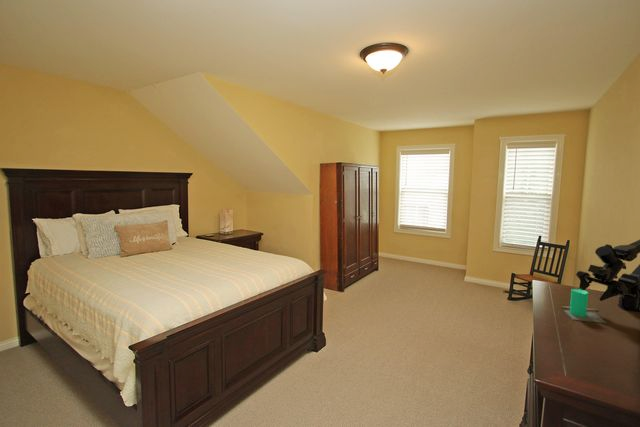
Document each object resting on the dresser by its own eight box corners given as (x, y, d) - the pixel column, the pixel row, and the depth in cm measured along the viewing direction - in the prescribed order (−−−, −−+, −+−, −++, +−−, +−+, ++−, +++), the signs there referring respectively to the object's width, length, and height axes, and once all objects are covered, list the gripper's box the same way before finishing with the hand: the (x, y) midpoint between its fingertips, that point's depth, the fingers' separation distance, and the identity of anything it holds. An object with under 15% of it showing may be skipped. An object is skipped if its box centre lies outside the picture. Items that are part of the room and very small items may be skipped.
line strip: (596, 309, 153) (596, 308, 153) (598, 311, 151) (598, 310, 151) (561, 306, 157) (561, 305, 157) (562, 308, 155) (562, 307, 155)
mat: (594, 313, 149) (594, 312, 149) (606, 323, 139) (606, 322, 139) (563, 310, 152) (563, 309, 152) (572, 319, 143) (572, 319, 143)
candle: (570, 314, 147) (572, 288, 146) (568, 310, 152) (570, 284, 151) (587, 317, 144) (589, 290, 142) (585, 312, 149) (587, 286, 147)
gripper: (580, 253, 155) (560, 279, 154) (625, 264, 137) (602, 292, 136) (592, 268, 158) (572, 293, 157) (637, 280, 140) (615, 308, 139)
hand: (589, 296), depth 147 cm, fingers open, 9 cm apart
